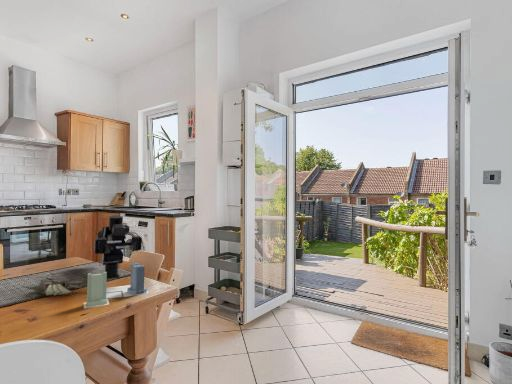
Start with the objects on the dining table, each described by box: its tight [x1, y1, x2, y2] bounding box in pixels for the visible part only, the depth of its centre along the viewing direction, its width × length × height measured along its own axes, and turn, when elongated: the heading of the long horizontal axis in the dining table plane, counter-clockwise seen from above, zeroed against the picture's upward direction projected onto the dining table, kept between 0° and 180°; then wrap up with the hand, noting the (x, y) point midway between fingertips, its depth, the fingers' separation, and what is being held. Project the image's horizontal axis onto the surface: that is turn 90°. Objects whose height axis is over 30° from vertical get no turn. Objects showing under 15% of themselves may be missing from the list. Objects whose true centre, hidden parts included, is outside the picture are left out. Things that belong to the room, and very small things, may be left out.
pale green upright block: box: [86, 271, 108, 307], centre depth 107 cm, size 6×4×11 cm, turn 122°
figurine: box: [20, 275, 83, 297], centre depth 118 cm, size 20×6×17 cm
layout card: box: [82, 284, 150, 310], centre depth 117 cm, size 21×23×1 cm
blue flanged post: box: [127, 262, 148, 296], centre depth 120 cm, size 6×6×11 cm
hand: (122, 250), depth 123 cm, fingers open, 9 cm apart
